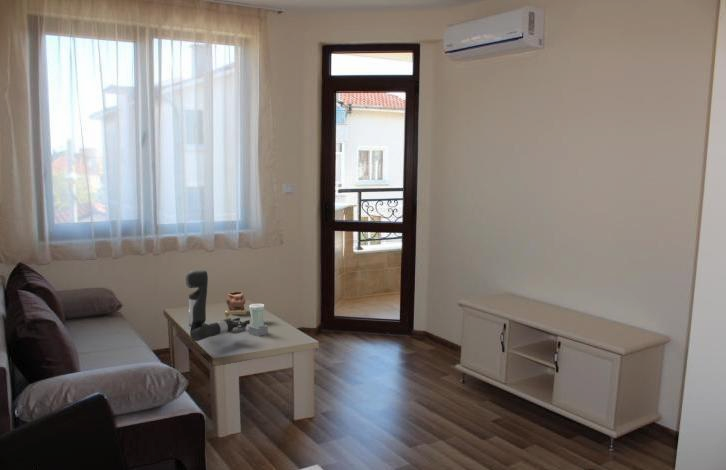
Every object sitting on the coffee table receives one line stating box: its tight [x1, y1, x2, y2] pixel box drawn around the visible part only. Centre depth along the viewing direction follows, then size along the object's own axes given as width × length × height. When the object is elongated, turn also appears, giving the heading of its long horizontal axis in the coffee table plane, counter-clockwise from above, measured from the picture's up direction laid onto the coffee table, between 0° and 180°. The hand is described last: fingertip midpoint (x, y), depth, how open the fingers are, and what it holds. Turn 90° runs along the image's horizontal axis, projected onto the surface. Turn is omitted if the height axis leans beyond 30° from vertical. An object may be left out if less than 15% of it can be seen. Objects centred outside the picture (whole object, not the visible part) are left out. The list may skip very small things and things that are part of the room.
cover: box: [252, 308, 265, 328], centre depth 369 cm, size 5×5×11 cm
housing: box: [248, 324, 269, 337], centre depth 370 cm, size 8×8×5 cm
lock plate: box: [229, 327, 247, 334], centre depth 378 cm, size 13×9×2 cm
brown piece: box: [224, 309, 247, 319], centre depth 381 cm, size 13×3×9 cm, turn 94°
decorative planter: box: [225, 291, 246, 311], centre depth 417 cm, size 20×12×14 cm, turn 37°
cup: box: [248, 303, 265, 323], centre depth 394 cm, size 10×10×11 cm
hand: (244, 320), depth 361 cm, fingers open, 8 cm apart
